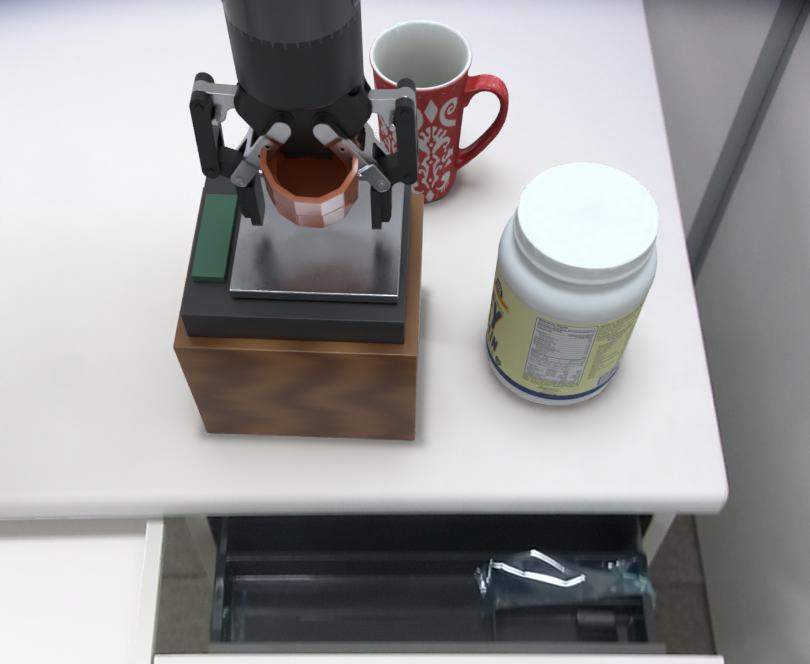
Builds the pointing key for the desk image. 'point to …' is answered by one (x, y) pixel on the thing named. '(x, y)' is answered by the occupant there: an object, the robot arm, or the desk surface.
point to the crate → (310, 375)
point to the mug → (434, 97)
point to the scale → (275, 318)
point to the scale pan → (321, 255)
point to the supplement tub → (571, 282)
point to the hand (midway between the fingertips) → (318, 219)
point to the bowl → (311, 188)
